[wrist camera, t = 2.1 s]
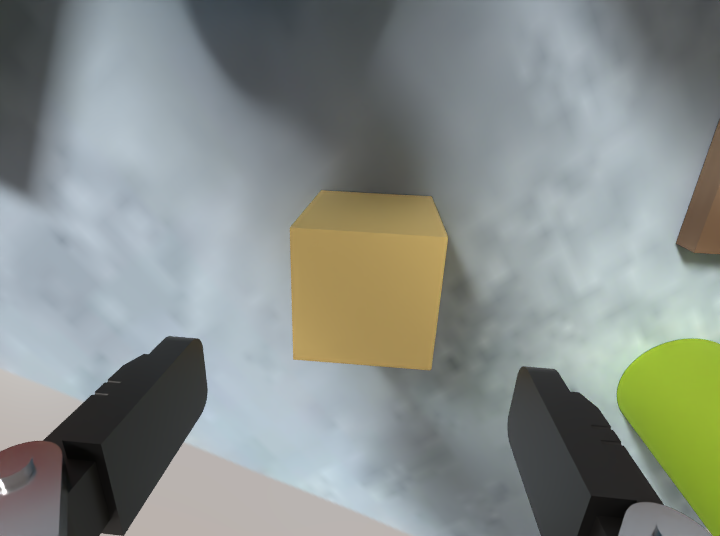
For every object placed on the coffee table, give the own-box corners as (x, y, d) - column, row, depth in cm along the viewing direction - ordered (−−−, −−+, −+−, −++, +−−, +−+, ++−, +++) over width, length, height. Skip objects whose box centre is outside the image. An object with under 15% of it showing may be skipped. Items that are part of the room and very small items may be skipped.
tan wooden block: (321, 190, 18) (289, 227, 13) (431, 196, 18) (448, 237, 13) (320, 289, 20) (293, 359, 15) (420, 296, 20) (431, 370, 15)
